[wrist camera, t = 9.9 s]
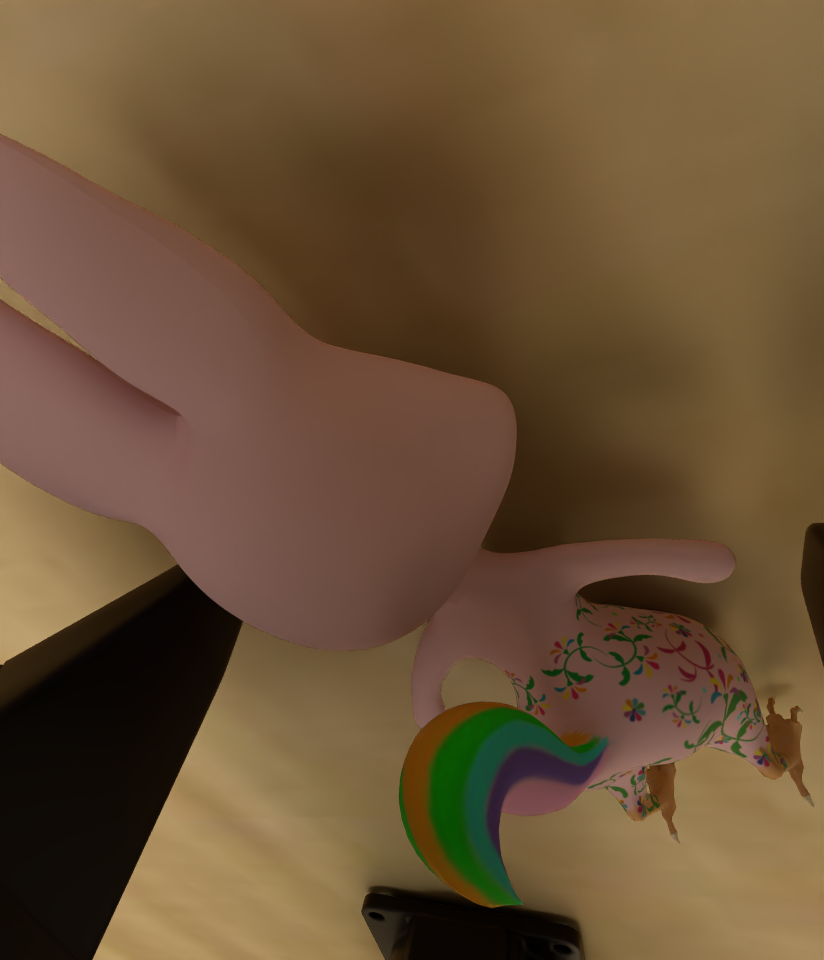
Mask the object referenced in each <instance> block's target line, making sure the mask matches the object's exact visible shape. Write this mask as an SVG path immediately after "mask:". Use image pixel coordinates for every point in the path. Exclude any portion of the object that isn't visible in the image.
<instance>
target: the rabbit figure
mask: <svg viewBox="0 0 824 960" xmlns="http://www.w3.org/2000/svg"><path fill="white" fill-rule="evenodd" d="M0 278H1V279H2V280H3V281H4V282H6V283H7V284H8V285H9V286H10V287H11V288H12V289H13V290H15V291H16V292H17V293H18V294H19V295H21V296H22V297H23V298H24V299H25V300H27V301H28V302H29V303H31V304H32V305H33V306H34V307H36V308H37V309H38V310H39V311H41V312H42V313H43V314H45V315H46V316H47V317H48V318H49V319H51V320H52V321H53V322H54V323H56V324H57V325H58V326H59V327H60V328H62V329H63V330H64V331H65V332H66V333H67V334H68V335H70V336H71V337H72V338H73V339H74V340H75V341H76V342H77V343H79V344H80V345H81V346H82V347H83V348H84V349H85V350H87V351H88V352H89V353H90V354H91V355H92V356H94V357H95V358H96V359H97V360H96V359H94V358H93V357H91V356H90V355H88V354H87V353H85V352H84V351H82V350H80V349H79V348H77V347H75V346H74V345H72V344H71V343H69V342H67V341H66V340H64V339H62V338H61V337H59V336H57V335H55V334H54V333H52V332H50V331H49V330H47V329H45V328H44V327H42V326H41V325H39V324H37V323H36V322H34V321H33V320H31V319H30V318H28V317H26V316H25V315H23V314H22V313H20V312H19V311H17V310H16V309H14V308H13V307H11V306H10V305H8V304H7V303H5V302H4V301H2V300H1V299H0V463H1V464H3V465H4V466H5V467H7V468H8V469H10V470H11V471H13V472H14V473H16V474H17V475H19V476H20V477H22V478H23V479H25V480H26V481H28V482H30V483H31V484H33V485H35V486H36V487H38V488H40V489H42V490H44V491H45V492H47V493H49V494H51V495H53V496H55V497H57V498H59V499H61V500H63V501H65V502H67V503H69V504H71V505H74V506H76V507H78V508H81V509H83V510H85V511H88V512H91V513H94V514H97V515H100V516H104V517H107V518H112V519H117V520H123V521H128V522H132V523H135V524H138V525H141V526H143V527H145V528H146V529H148V530H149V531H151V532H152V533H153V534H154V535H155V536H156V537H157V538H158V539H159V540H160V541H161V543H162V544H163V545H164V546H165V547H166V549H167V550H168V551H169V553H170V554H171V555H172V557H173V558H174V559H175V560H176V562H177V563H178V564H179V566H180V567H181V568H182V569H183V571H184V572H185V573H186V574H187V575H188V576H189V577H190V579H191V580H192V581H193V582H194V583H195V584H196V585H197V586H198V587H199V588H200V589H201V590H202V591H203V592H204V593H205V594H206V595H207V596H209V597H210V598H211V599H212V600H213V601H215V602H216V603H217V604H218V605H220V606H221V607H222V608H224V609H225V610H227V611H228V612H230V613H231V614H233V615H234V616H236V617H237V618H239V619H241V620H242V621H244V622H246V623H247V624H249V625H251V626H253V627H255V628H257V629H259V630H261V631H263V632H265V633H267V634H270V635H272V636H275V637H277V638H279V639H282V640H285V641H288V642H291V643H294V644H298V645H301V646H305V647H309V648H315V649H322V650H331V651H354V650H363V649H369V648H374V647H378V646H381V645H384V644H387V643H389V642H392V641H394V640H397V639H399V638H401V637H402V636H404V635H406V634H408V633H410V632H411V631H413V630H415V629H416V628H417V627H419V626H420V625H422V624H423V623H424V622H426V621H427V620H428V619H429V618H430V617H431V616H432V617H431V619H430V621H429V623H428V625H427V627H426V629H425V630H424V632H423V634H422V637H421V639H420V642H419V645H418V649H417V653H416V656H415V660H414V664H413V668H412V674H411V694H412V705H413V714H414V718H415V721H416V724H417V725H418V726H419V727H420V728H421V731H420V732H419V733H418V735H417V736H416V737H415V739H414V741H413V743H412V744H411V746H410V748H409V751H408V753H407V756H406V758H405V762H404V765H403V768H402V772H401V777H400V787H399V805H400V811H401V817H402V821H403V824H404V827H405V830H406V833H407V836H408V839H409V840H410V842H411V844H412V846H413V848H414V849H415V851H416V853H417V855H418V856H419V857H420V858H421V860H422V861H423V862H424V863H425V864H426V866H427V867H428V868H429V870H431V871H432V872H433V873H434V874H435V875H436V876H437V877H438V878H439V879H440V880H442V881H443V882H444V883H445V884H447V885H448V886H449V887H451V888H452V889H453V890H455V891H456V892H457V893H458V894H460V895H461V896H463V897H465V898H467V899H469V900H471V901H473V902H475V903H477V904H479V905H483V906H486V907H490V908H494V907H498V906H503V905H521V904H523V903H522V902H521V900H520V899H519V898H518V896H517V895H516V894H515V892H514V890H513V888H512V886H511V884H510V881H509V879H508V876H507V873H506V870H505V867H504V864H503V861H502V857H501V851H500V841H499V822H500V815H501V812H504V813H509V814H514V815H523V816H533V815H542V814H547V813H551V812H554V811H558V810H560V809H563V808H565V807H566V806H568V805H569V804H570V803H571V802H572V801H573V800H575V799H576V798H577V797H578V796H579V795H580V794H581V793H582V792H583V791H590V790H599V789H602V788H606V789H607V790H608V791H609V792H610V793H611V794H612V795H613V796H614V797H615V798H616V799H617V800H618V801H619V802H620V804H621V805H622V807H623V808H624V810H625V811H626V813H627V814H628V816H629V817H630V818H631V819H633V820H634V821H637V822H639V821H642V820H644V819H645V818H646V817H647V816H648V815H650V814H652V813H655V812H658V811H660V810H662V815H663V817H664V819H665V820H666V821H667V824H668V827H669V830H670V834H671V836H672V837H673V838H674V839H675V840H676V841H677V842H678V843H679V844H680V841H679V840H678V837H677V831H676V829H675V827H674V825H673V823H672V815H673V813H674V811H675V809H676V804H675V799H674V777H675V773H676V769H675V766H674V763H675V762H676V761H679V760H682V759H685V758H687V757H689V756H690V755H692V754H693V753H695V752H696V751H697V750H699V749H700V748H702V747H703V746H707V747H711V748H714V749H717V750H721V751H725V752H729V753H732V754H735V755H737V756H740V757H742V758H744V759H746V760H747V761H749V762H750V763H751V764H753V765H754V766H755V767H756V768H757V769H758V770H759V772H760V773H761V774H762V775H763V776H765V777H767V778H770V779H774V780H775V779H778V778H780V777H781V776H782V774H783V773H784V772H785V771H789V772H790V775H791V777H792V779H793V780H794V782H795V783H796V785H797V787H798V790H799V792H800V793H801V795H802V797H803V798H804V799H805V800H807V801H808V802H809V803H810V804H811V805H812V806H813V807H814V804H813V802H812V799H811V796H810V794H809V792H808V791H807V789H806V788H805V786H804V785H803V783H802V773H803V769H804V766H803V763H802V759H801V753H800V737H801V731H802V725H801V724H800V723H799V722H798V721H797V712H803V711H802V710H801V709H800V708H799V707H798V706H795V707H794V708H791V710H790V712H791V719H786V720H784V719H783V718H782V716H781V715H780V714H776V713H775V711H774V707H773V706H774V704H775V697H770V698H769V699H768V704H767V709H768V711H769V713H770V715H768V716H767V717H766V720H767V723H768V725H765V723H764V720H763V717H762V714H761V710H760V707H759V704H758V701H757V698H756V695H755V692H754V689H753V686H752V683H751V681H750V678H749V676H748V674H747V671H746V669H745V667H744V666H743V664H742V663H741V661H740V659H739V658H738V657H737V655H736V654H735V653H734V651H733V650H732V649H731V648H730V647H729V646H728V645H727V644H726V643H725V642H724V641H723V640H722V639H721V638H720V637H719V636H718V635H717V634H715V633H714V632H713V631H711V630H710V629H709V628H707V627H706V626H704V625H702V624H700V623H699V622H697V621H695V620H692V619H690V618H688V617H685V616H681V615H677V614H673V613H666V612H659V611H651V610H642V609H636V608H630V607H624V606H617V605H607V604H595V603H591V602H588V601H586V600H585V599H584V598H582V597H581V596H580V595H579V594H578V593H577V592H578V591H579V590H580V589H581V588H582V587H584V586H586V585H588V584H590V583H593V582H597V581H600V580H605V579H610V578H616V577H623V576H632V575H662V576H669V577H675V578H679V579H684V580H688V581H692V582H699V583H715V582H719V581H722V580H724V579H726V578H728V577H729V576H730V575H731V573H732V572H733V570H734V568H735V565H736V560H735V556H734V554H733V553H732V552H731V550H730V549H729V548H727V547H726V546H724V545H722V544H719V543H716V542H711V541H702V540H680V539H616V540H601V541H591V542H582V543H572V544H564V545H558V546H553V547H548V548H543V549H538V550H533V551H527V552H519V553H495V552H491V551H488V550H485V549H483V548H482V547H480V546H481V544H482V541H483V539H484V537H485V535H486V533H487V531H488V529H489V527H490V525H491V523H492V521H493V519H494V517H495V514H496V512H497V510H498V508H499V506H500V503H501V501H502V499H503V496H504V494H505V492H506V489H507V487H508V484H509V481H510V477H511V474H512V470H513V466H514V460H515V453H516V442H517V423H516V416H515V411H514V408H513V405H512V403H511V401H510V400H509V398H508V396H507V395H506V394H505V393H504V392H503V391H501V390H500V389H499V388H497V387H495V386H493V385H491V384H488V383H485V382H482V381H478V380H474V379H470V378H466V377H462V376H458V375H454V374H450V373H446V372H442V371H439V370H435V369H432V368H428V367H425V366H421V365H417V364H413V363H409V362H405V361H401V360H396V359H392V358H388V357H383V356H378V355H374V354H369V353H364V352H358V351H353V350H349V349H345V348H341V347H337V346H334V345H330V344H327V343H325V342H322V341H319V340H318V339H316V338H314V337H312V336H311V335H310V334H308V333H307V332H305V331H304V330H303V329H302V328H300V327H299V326H298V325H297V324H296V323H295V322H294V321H293V320H292V319H291V318H290V317H289V316H288V315H287V313H286V312H285V311H284V310H283V309H282V308H281V307H280V306H279V304H278V303H277V302H276V301H275V300H274V299H273V297H272V296H271V295H270V294H269V293H268V292H267V291H266V290H265V289H264V288H263V287H262V286H261V285H260V284H259V283H258V282H257V281H256V280H254V279H253V278H252V277H251V276H250V275H249V274H248V273H246V272H245V271H244V270H243V269H242V268H240V267H239V266H238V265H236V264H235V263H234V262H232V261H231V260H230V259H228V258H227V257H225V256H224V255H222V254H221V253H219V252H218V251H216V250H214V249H213V248H211V247H210V246H208V245H207V244H205V243H204V242H202V241H200V240H199V239H197V238H196V237H194V236H192V235H191V234H189V233H187V232H186V231H184V230H182V229H181V228H179V227H178V226H176V225H174V224H172V223H170V222H169V221H167V220H165V219H163V218H161V217H159V216H157V215H155V214H153V213H151V212H149V211H147V210H145V209H143V208H141V207H139V206H137V205H135V204H133V203H130V202H129V201H127V200H125V199H123V198H121V197H119V196H117V195H115V194H113V193H111V192H109V191H107V190H105V189H104V188H102V187H100V186H98V185H97V184H95V183H93V182H92V181H90V180H88V179H86V178H85V177H83V176H81V175H80V174H78V173H76V172H74V171H73V170H71V169H69V168H67V167H66V166H64V165H62V164H60V163H58V162H56V161H55V160H53V159H51V158H49V157H47V156H45V155H43V154H41V153H39V152H37V151H35V150H33V149H31V148H29V147H26V146H25V145H23V144H21V143H19V142H17V141H15V140H13V139H10V138H8V137H6V136H4V135H2V134H0ZM99 361H100V362H99ZM467 658H478V659H482V660H485V661H487V662H489V663H491V664H493V665H495V666H497V667H498V668H499V669H501V670H502V671H503V672H504V673H505V674H506V675H507V676H508V678H509V679H510V680H511V682H512V684H513V686H514V689H515V693H516V699H517V708H515V707H513V706H510V705H507V704H503V703H495V702H474V703H468V704H463V705H460V706H456V707H453V708H451V709H449V710H446V711H445V707H444V704H443V701H442V699H441V695H440V690H441V685H442V682H443V680H444V678H445V676H446V675H447V673H448V672H449V670H450V669H451V668H452V666H453V665H455V664H456V663H457V662H458V661H460V660H463V659H467ZM647 766H649V769H647ZM646 782H647V783H648V784H649V789H650V794H649V793H647V788H646Z"/></svg>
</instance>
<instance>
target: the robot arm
mask: <svg viewBox="0 0 824 960" xmlns="http://www.w3.org/2000/svg"><path fill="white" fill-rule="evenodd" d="M801 587H802V592H803V596H804V599H805V603H806V606H807V610H808V613H809V617H810V620H811V624H812V627H813V631H814V634H815V638H816V641H817V645H818V648H819V652H820V655H821V659H822V663H823V666H824V523H813V524H811V525H810V526H809V527H808V528H807V530H806V534H805V542H804V550H803V559H802V568H801ZM242 623H243V621H242V620H241V619H239V618H237V617H236V616H234V615H233V614H231V613H230V612H228V611H227V610H225V609H224V608H222V607H221V606H220V605H218V604H217V603H216V602H215V601H213V600H212V599H211V598H210V597H209V596H207V595H206V594H205V593H204V592H203V591H202V590H201V589H200V588H199V587H198V586H197V585H196V584H195V583H194V582H193V581H192V580H191V579H190V577H189V576H188V575H187V574H186V573H185V572H184V571H183V569H182V568H181V567H180V566H179V564H178V565H176V566H175V567H173V568H171V569H169V570H168V571H166V572H164V573H162V574H160V575H159V576H157V577H155V578H153V579H152V580H150V581H148V582H146V583H144V584H143V585H141V586H139V587H137V588H136V589H134V590H132V591H130V592H128V593H127V594H125V595H123V596H121V597H120V598H118V599H116V600H114V601H112V602H111V603H109V604H107V605H105V606H104V607H102V608H100V609H98V610H96V611H95V612H93V613H91V614H89V615H88V616H86V617H84V618H82V619H80V620H79V621H77V622H75V623H73V624H72V625H70V626H68V627H66V628H64V629H63V630H61V631H59V632H57V633H56V634H54V635H52V636H50V637H48V638H47V639H45V640H43V641H41V642H40V643H38V644H36V645H34V646H32V647H31V648H29V649H27V650H25V651H24V652H22V653H20V654H18V655H16V656H15V657H13V658H11V659H9V660H8V661H6V662H5V663H4V665H0V960H92V959H93V957H94V955H95V953H96V951H97V949H98V946H99V944H100V942H101V940H102V938H103V936H104V933H105V931H106V929H107V927H108V925H109V923H110V920H111V918H112V916H113V914H114V912H115V910H116V908H117V905H118V903H119V901H120V899H121V897H122V895H123V892H124V890H125V888H126V886H127V884H128V882H129V879H130V877H131V875H132V873H133V871H134V869H135V867H136V864H137V862H138V860H139V858H140V856H141V854H142V851H143V849H144V847H145V845H146V843H147V841H148V838H149V836H150V834H151V832H152V830H153V828H154V826H155V823H156V821H157V819H158V817H159V815H160V813H161V810H162V808H163V806H164V804H165V802H166V800H167V797H168V795H169V793H170V791H171V789H172V787H173V784H174V782H175V780H176V778H177V776H178V774H179V772H180V769H181V767H182V765H183V763H184V761H185V759H186V756H187V754H188V752H189V750H190V748H191V746H192V743H193V741H194V739H195V737H196V735H197V733H198V731H199V728H200V726H201V724H202V722H203V720H204V718H205V715H206V713H207V711H208V709H209V707H210V705H211V702H212V700H213V698H214V696H215V694H216V692H217V689H218V687H219V685H220V683H221V680H222V678H223V676H224V673H225V671H226V668H227V665H228V663H229V660H230V657H231V654H232V651H233V648H234V646H235V643H236V640H237V637H238V634H239V631H240V628H241V626H242ZM361 912H362V915H363V917H364V919H365V921H366V923H367V925H368V927H369V929H370V931H371V933H372V935H373V937H374V939H375V941H376V943H377V945H378V947H379V949H380V951H381V953H382V955H383V957H384V959H385V960H585V957H584V951H583V945H582V939H581V935H580V933H579V932H578V931H577V930H576V929H574V928H572V927H570V926H568V925H564V924H559V923H553V922H547V921H541V920H535V919H529V918H523V917H517V916H511V915H504V914H498V913H492V912H486V911H480V910H474V909H468V908H462V907H456V906H450V905H444V904H438V903H432V902H425V901H419V900H413V899H407V898H401V897H395V896H389V895H383V894H377V893H370V894H367V895H366V896H365V899H364V903H363V907H362V910H361Z"/></svg>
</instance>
